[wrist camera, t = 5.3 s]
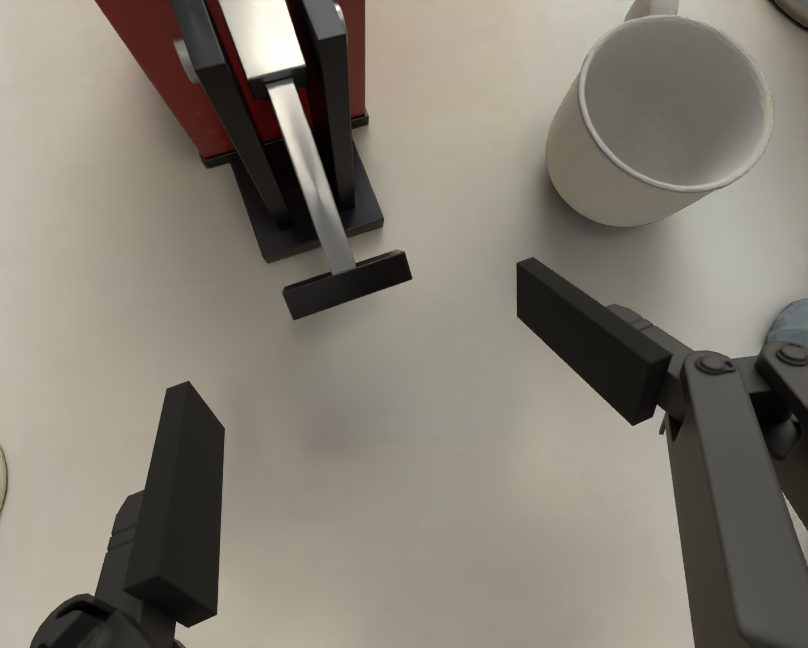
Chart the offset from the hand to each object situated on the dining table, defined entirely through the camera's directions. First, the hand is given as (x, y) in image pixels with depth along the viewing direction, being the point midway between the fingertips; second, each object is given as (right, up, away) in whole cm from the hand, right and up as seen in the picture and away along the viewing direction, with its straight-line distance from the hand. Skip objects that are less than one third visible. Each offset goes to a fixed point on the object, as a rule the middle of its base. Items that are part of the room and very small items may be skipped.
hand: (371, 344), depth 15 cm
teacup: (+16, +13, +14) cm, 25 cm away
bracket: (-5, +9, +11) cm, 15 cm away
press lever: (-3, +8, +2) cm, 8 cm away
